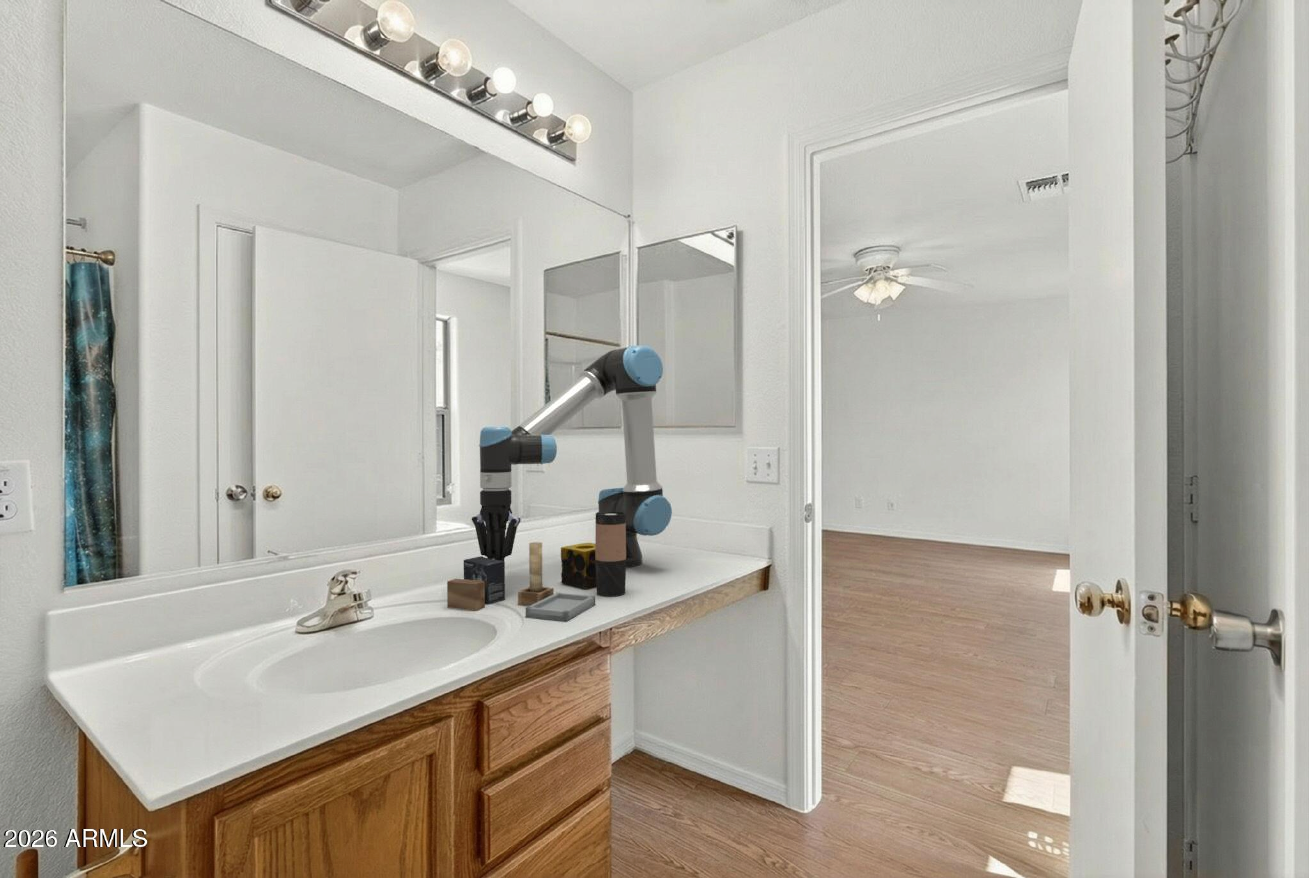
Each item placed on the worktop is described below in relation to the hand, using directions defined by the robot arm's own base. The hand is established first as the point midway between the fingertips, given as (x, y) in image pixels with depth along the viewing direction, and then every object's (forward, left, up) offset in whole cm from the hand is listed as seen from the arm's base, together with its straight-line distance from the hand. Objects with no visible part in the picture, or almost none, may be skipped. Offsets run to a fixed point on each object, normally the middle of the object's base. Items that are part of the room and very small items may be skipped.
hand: (496, 584), depth 156 cm
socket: (+3, +13, -3) cm, 14 cm away
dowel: (+3, +13, -3) cm, 14 cm away
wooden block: (+12, 0, -3) cm, 12 cm away
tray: (+7, +22, -3) cm, 23 cm away
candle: (-18, +16, -3) cm, 24 cm away
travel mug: (-11, +26, -3) cm, 28 cm away
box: (+4, 0, -3) cm, 5 cm away
